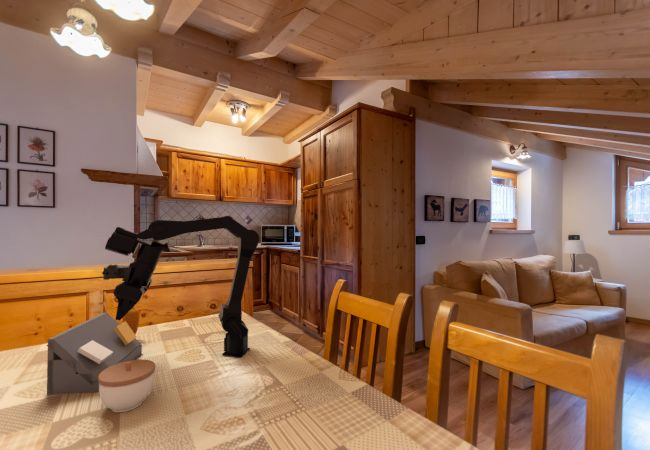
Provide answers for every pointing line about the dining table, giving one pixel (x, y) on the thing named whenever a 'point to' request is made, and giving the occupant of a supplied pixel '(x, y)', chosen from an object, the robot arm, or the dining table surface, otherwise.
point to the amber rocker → (125, 332)
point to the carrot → (132, 319)
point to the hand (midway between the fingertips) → (121, 314)
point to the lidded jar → (126, 384)
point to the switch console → (78, 370)
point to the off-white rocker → (95, 351)
